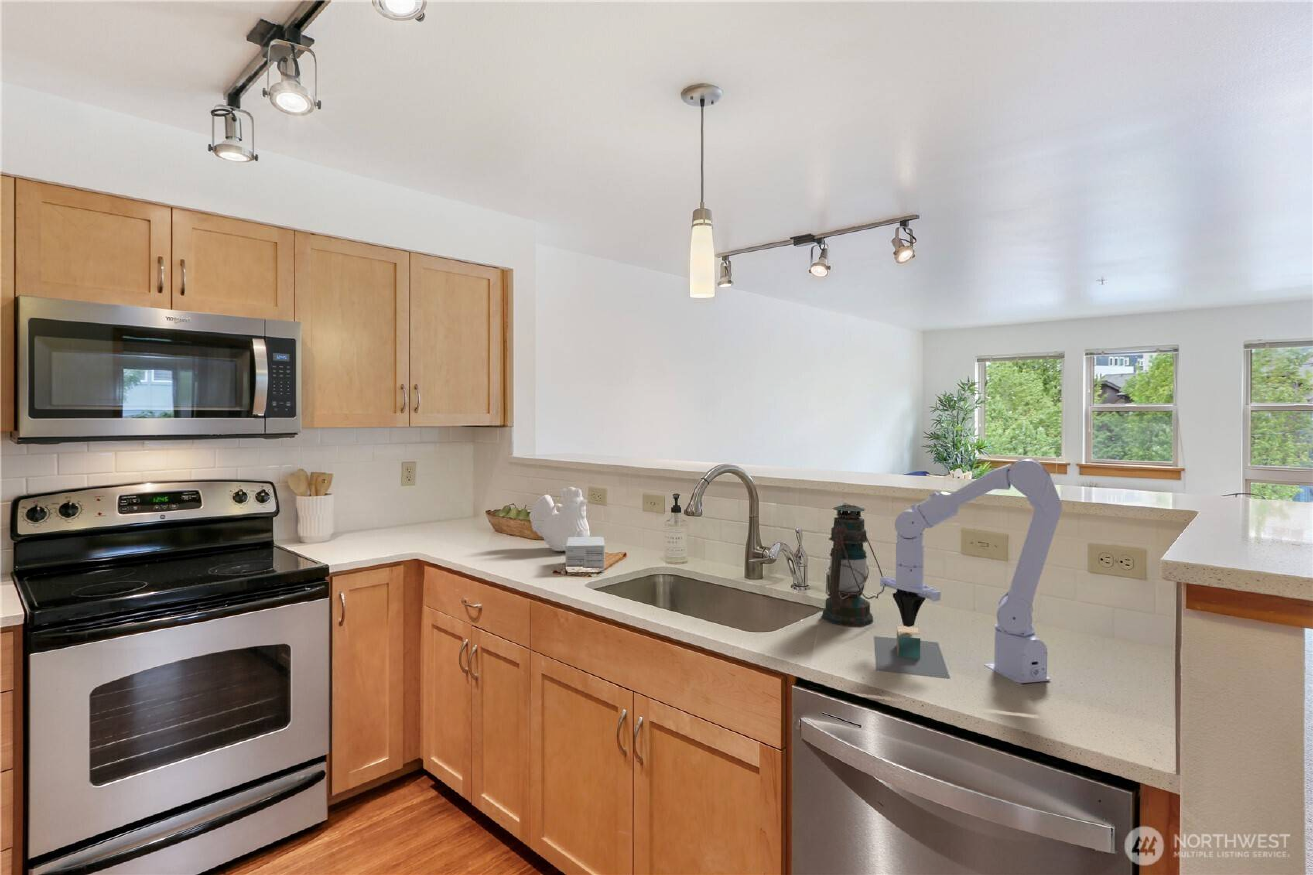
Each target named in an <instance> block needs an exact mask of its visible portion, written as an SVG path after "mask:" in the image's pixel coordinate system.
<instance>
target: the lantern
mask: <svg viewBox="0 0 1313 875" xmlns="http://www.w3.org/2000/svg"><path fill="white" fill-rule="evenodd" d="M832 510H835V511H836V517H833V527H831V531H830V532H831V533H830V537H829V538H828V540H829V541H831V542H832V548H831V549H830V553H829V556H830V563H829V567H828V572H829V573H828V575H829V577H828V578H829V592H828V594H827V596H828V597H827V598H825V604H824V605H825V607H824V609H823V610H822V615H821V617H822V619H823V620H824V621H827V622H829V623H832V624H836V625H839V626H845V627H862V626H867V625H870V624H872V623H873V622H874V619H873V618H874V616H873V614H872V613H871V602H870V601H868V600H871V599H874V598H875V599H876V600H877V599H879V595H881V594H882V593H883V592H884V591H885V587H882V590H881V591H880V592H878V593H877V594H876V595H873V596H869V597H868V596H866V595H865V594H864V593H863V592H864V589H865V585H866V584H865V583H867V580H868V579H869V578H868V577H869V574H870V568H869V566H868V564H867V558H868V556H867V551H866V550H865V549H864V544H865V543H868V546H869V549H870V550H871V553H872V555H873V557H874V560H875V562H876V566H877V568H878V570H879V573H880V576H881V578H882V577H884V576H883V572H882V569H881V568H880V565H879V562H878V559H877V557H876V555H875V552H874V550H873V548H872V545H871V543H870V541H869V538H868V537H867V536H868V535H867V530H866V529H865V519H864V518H862V515H861V513H862V512H865V510H866V508H863V507H859V506H857V505H853V504H852V505H851V504H849V503H847V502H845V503H844V504H843V505H837V506H834V507H832ZM862 596H863V597H864V598H863V597H862Z"/></svg>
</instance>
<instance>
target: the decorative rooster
mask: <svg viewBox="0 0 1313 875" xmlns="http://www.w3.org/2000/svg"><path fill="white" fill-rule="evenodd" d="M560 497H561V499H562V503H555V504H554V501H553V499H552V497H551V496H550V495H549V494H544V495H543V496H540V497H539V498H538V500H536V501H535V502H534V503H533V504H532V507H531V512H530V513H529V514H528V516H529V521H530V522H531V528H532V530H533V531H534V532H536V534H537V535H538V536H539V537H543V539H544V541H545V543H546V545H547V546H548V547H549V548H550V549H551V550H553V552H566V544H567V538H568V537H591V536H590V535H591V532H590V526H589V523H588V520H587V517H586V516H587V511H586V510H587V507H586V505H587V503H588V500H586V499H585V498H583V492H582V489H580V488H578V487H577V488H575V487H574V486H568V487H566V488H562V490H561V491H560ZM557 508H559V512H558V511H557Z"/></svg>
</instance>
